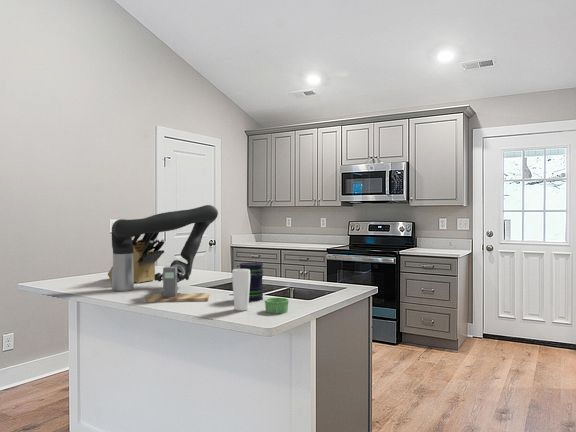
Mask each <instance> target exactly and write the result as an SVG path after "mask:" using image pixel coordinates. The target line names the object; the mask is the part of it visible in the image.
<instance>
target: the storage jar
mask: <svg viewBox="0 0 576 432" xmlns="http://www.w3.org/2000/svg"><path fill="white" fill-rule="evenodd" d="M263 265H264V264H263V263H262V262H241V263H239V269H250V291H249V301H254V302H260V300H261V301H263V300H264V298H263V297H264V285H263V277H264V270H263V269H264V267H263Z"/></svg>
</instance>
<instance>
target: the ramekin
mask: <svg viewBox="0 0 576 432" xmlns="http://www.w3.org/2000/svg"><path fill="white" fill-rule="evenodd" d="M289 302H290V300H289V299H288V298H285V297H269V298H265V299H264V303H265V304H264V305H265V312H266V313H268V312H269V313H268V314H273V313H280V314H284V312H285V313H287V312H288V309H289Z"/></svg>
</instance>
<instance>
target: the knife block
mask: <svg viewBox="0 0 576 432" xmlns="http://www.w3.org/2000/svg"><path fill="white" fill-rule="evenodd" d="M159 233H160V232H157V233H146V234H143V236H142V234H141V235H138V236H134V237H133V238H132V245H133V249H134V283H137V284H140V283H143V282H149V281H150V282H151V281H155V274H156V266H155V265H156V262H157V261H158V260H159V259H160V258H161V256H162V255H163V254H165V250H161V248H162V247H163V246H164V244H165V242H166V241H165V239H161V240H159V239H157V237H158V235H159ZM141 236H142V238H141V239H139V238H140V237H141ZM112 270H113V265H112V266H111V268H110V270H109V271H108V273H107V276H108V278H109V279H110V280H112Z"/></svg>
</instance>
